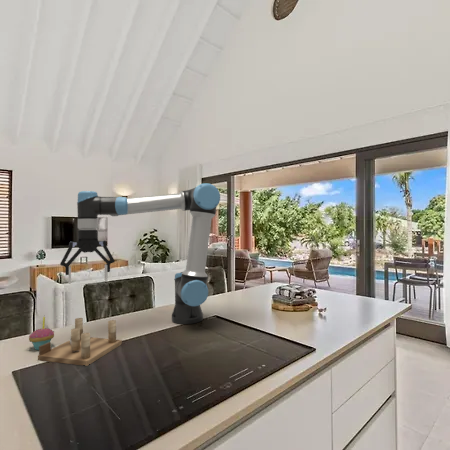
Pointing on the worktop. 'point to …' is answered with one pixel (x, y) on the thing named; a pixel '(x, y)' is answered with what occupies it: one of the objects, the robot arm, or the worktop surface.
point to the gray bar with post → (75, 339)
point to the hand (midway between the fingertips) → (88, 281)
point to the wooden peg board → (81, 347)
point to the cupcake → (41, 336)
